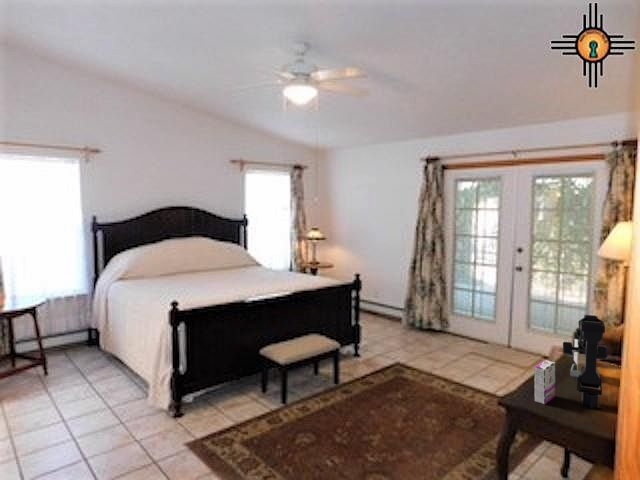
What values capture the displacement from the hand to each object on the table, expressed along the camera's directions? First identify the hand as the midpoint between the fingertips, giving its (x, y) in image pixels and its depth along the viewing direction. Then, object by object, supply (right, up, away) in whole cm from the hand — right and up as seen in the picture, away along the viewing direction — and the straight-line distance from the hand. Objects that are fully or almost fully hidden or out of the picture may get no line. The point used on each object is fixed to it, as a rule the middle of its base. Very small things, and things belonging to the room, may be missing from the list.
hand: (583, 357), depth 218 cm
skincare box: (+9, -7, +14) cm, 18 cm away
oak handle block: (0, -8, 0) cm, 8 cm away
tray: (0, -9, 0) cm, 9 cm away
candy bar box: (-32, -12, -24) cm, 42 cm away
